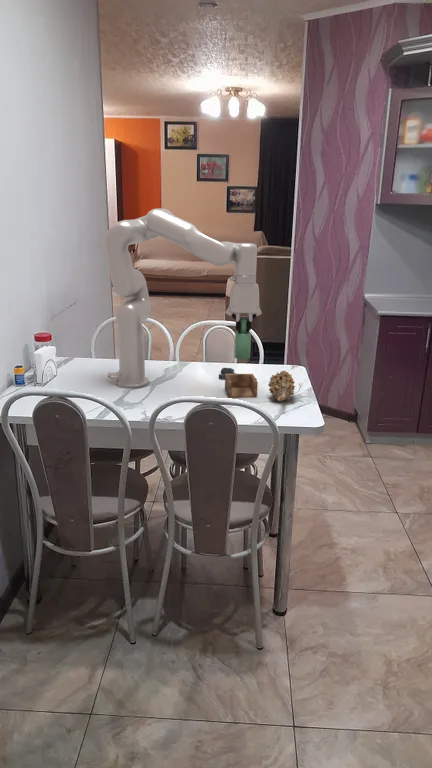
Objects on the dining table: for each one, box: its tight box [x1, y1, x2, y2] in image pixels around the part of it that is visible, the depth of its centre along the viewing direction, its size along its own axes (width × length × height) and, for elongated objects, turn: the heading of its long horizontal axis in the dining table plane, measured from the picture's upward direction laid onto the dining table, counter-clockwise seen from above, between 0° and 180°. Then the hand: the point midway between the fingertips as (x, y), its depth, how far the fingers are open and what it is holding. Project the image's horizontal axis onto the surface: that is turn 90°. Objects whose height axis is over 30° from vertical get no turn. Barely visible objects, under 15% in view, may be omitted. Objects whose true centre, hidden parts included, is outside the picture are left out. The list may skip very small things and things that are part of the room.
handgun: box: [218, 367, 257, 381], centre depth 222 cm, size 2×16×12 cm
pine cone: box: [267, 370, 296, 402], centre depth 193 cm, size 22×10×10 cm, turn 178°
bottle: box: [234, 315, 252, 360], centre depth 197 cm, size 6×6×15 cm
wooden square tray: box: [224, 373, 258, 399], centre depth 202 cm, size 10×10×6 cm
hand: (243, 331), depth 196 cm, fingers closed on bottle, 2 cm apart
